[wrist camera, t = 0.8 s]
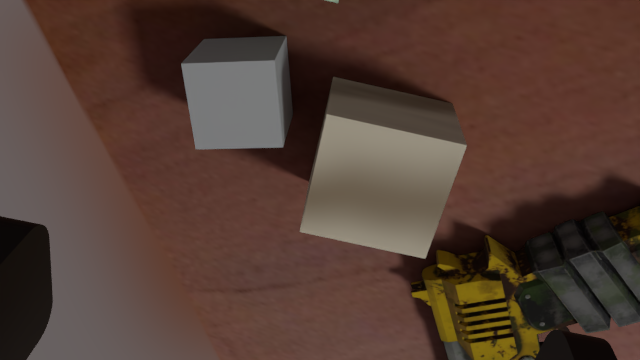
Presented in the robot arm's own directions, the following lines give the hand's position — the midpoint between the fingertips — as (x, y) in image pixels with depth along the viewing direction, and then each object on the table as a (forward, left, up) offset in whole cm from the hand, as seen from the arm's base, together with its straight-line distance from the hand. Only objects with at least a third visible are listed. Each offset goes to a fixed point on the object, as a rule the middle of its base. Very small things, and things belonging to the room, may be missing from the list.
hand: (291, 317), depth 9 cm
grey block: (+4, -4, -21) cm, 21 cm away
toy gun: (+17, +17, -21) cm, 32 cm away
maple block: (+6, +3, -21) cm, 22 cm away
